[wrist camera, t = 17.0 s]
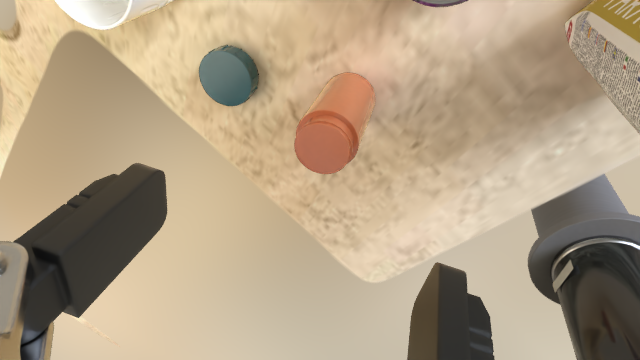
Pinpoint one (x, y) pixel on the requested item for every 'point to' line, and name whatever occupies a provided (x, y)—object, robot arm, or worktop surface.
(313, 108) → the jam jar
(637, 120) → the juice carton
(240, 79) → the jar lid
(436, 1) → the beverage can
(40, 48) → the worktop surface
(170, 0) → the white cup
